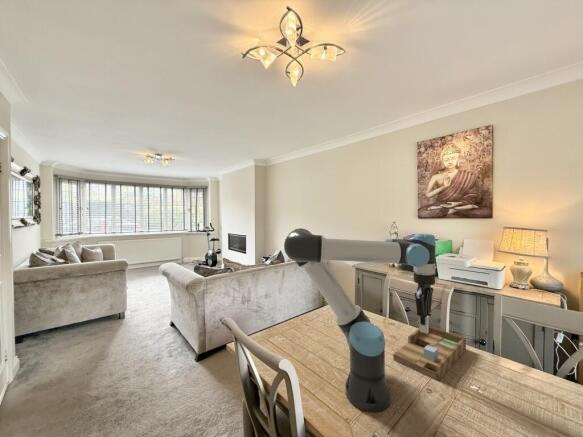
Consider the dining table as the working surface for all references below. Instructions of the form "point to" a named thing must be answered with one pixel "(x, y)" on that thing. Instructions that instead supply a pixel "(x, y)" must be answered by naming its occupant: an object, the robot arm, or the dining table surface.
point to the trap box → (443, 341)
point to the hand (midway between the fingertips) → (424, 331)
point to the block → (430, 353)
